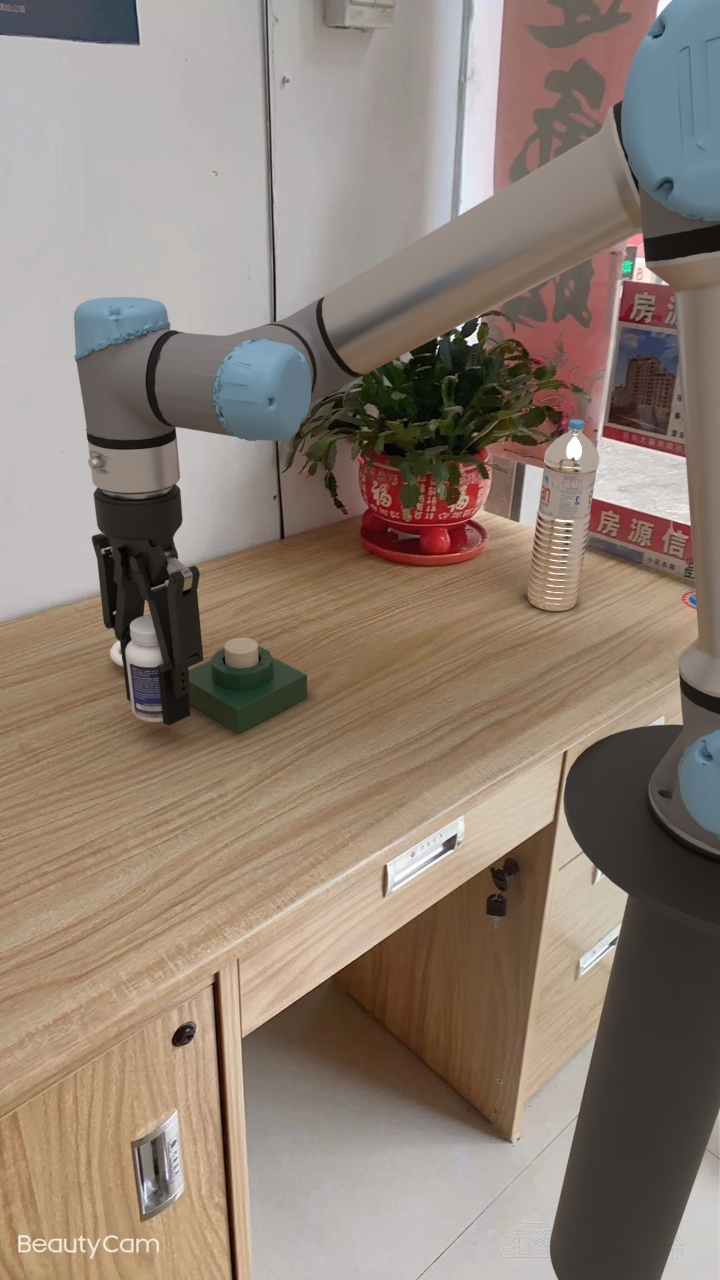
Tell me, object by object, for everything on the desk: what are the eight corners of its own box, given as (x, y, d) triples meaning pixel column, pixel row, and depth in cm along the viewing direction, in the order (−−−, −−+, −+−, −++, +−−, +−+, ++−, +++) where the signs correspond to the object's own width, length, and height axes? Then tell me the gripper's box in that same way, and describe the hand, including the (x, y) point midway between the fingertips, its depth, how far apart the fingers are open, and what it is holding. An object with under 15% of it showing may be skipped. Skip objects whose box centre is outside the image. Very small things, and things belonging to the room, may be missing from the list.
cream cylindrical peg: (265, 661, 96) (265, 645, 95) (240, 673, 93) (239, 657, 92) (243, 650, 98) (243, 634, 97) (218, 661, 96) (217, 645, 95)
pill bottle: (195, 713, 89) (188, 627, 84) (144, 730, 86) (135, 642, 81) (172, 689, 92) (165, 606, 88) (123, 704, 90) (113, 619, 85)
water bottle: (567, 617, 117) (595, 431, 106) (518, 605, 120) (541, 422, 108) (582, 598, 123) (611, 419, 111) (536, 587, 126) (559, 411, 114)
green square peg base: (307, 697, 98) (307, 658, 96) (238, 734, 92) (236, 693, 89) (248, 666, 104) (246, 628, 102) (179, 697, 98) (176, 658, 95)
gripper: (43, 470, 81) (75, 687, 92) (164, 523, 70) (184, 761, 81) (113, 454, 86) (136, 661, 97) (237, 501, 75) (246, 728, 86)
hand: (158, 706), depth 89 cm, fingers closed on pill bottle, 5 cm apart
